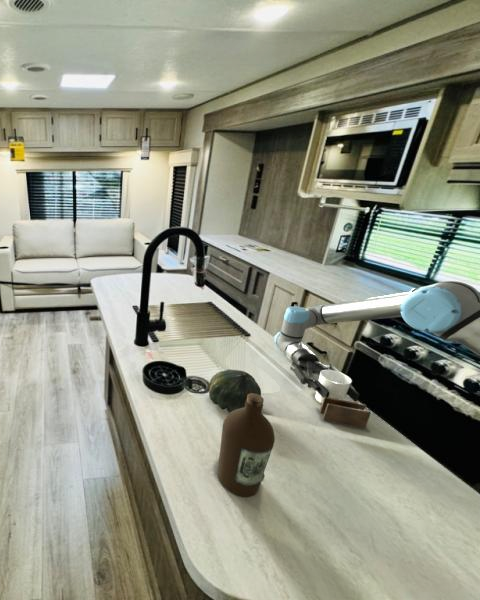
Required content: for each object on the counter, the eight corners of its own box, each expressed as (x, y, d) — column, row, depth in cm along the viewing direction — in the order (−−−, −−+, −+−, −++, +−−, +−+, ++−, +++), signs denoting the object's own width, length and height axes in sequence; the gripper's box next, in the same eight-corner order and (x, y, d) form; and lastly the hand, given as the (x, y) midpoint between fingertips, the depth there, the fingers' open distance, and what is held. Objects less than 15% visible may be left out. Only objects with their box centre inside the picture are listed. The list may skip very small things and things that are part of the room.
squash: (210, 371, 111) (215, 358, 99) (256, 381, 106) (268, 369, 93) (204, 411, 106) (209, 402, 93) (253, 424, 101) (265, 417, 88)
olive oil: (206, 463, 82) (220, 384, 73) (245, 460, 82) (263, 381, 73) (227, 502, 72) (246, 416, 63) (271, 498, 73) (296, 412, 64)
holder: (357, 421, 94) (364, 403, 92) (364, 433, 90) (371, 414, 88) (318, 413, 98) (323, 395, 95) (322, 424, 94) (328, 405, 91)
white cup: (340, 399, 103) (349, 373, 100) (344, 413, 97) (354, 387, 93) (311, 391, 107) (319, 367, 103) (313, 405, 101) (321, 379, 97)
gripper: (274, 347, 116) (309, 384, 95) (334, 349, 114) (383, 388, 93) (270, 364, 119) (303, 404, 98) (329, 367, 117) (375, 409, 95)
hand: (342, 396), depth 95 cm, fingers closed on white cup, 8 cm apart
